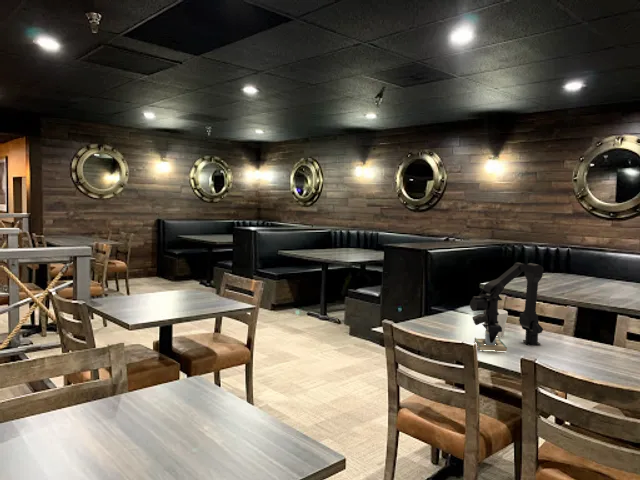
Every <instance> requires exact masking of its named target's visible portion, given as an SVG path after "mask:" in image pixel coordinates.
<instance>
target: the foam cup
mask: <svg viewBox="0 0 640 480" xmlns="http://www.w3.org/2000/svg"><path fill="white" fill-rule="evenodd" d="M498 313H499V315H498V318H497V321H498V324H499V325H500V326H501V327H502V332H498V334H497V336H498V337H497V338H502V337H501V336H503V337H504V335H505V330H506V326H507V325H506V323H507V319H508V315H509V314H508V313H509V312H508V311H507V310H504V309H499V308H498Z"/></svg>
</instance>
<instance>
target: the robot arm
mask: <svg viewBox="0 0 640 480" xmlns="http://www.w3.org/2000/svg"><path fill="white" fill-rule="evenodd" d="M522 272H523V273H524V277H525V280H526V292H525V293H526V294H525V303H524V310H523V312H519V318H518V321H519V324H520V326H521V330H524V331H525V338H524V339H522V342H523V343H524V344H526V345H528V344H529V346H531V345H533V346H534V345H535V346H540V345H541V343H540V341H539V334H542V333H543V330H544V328H543V327H542V325H540V323H539V316H538V314H537V311H536V309H537V299H538V289H539V288H538V287H539V282H540V281H541V280H542V278H543V275H544V267H543V266H542V265H540V264H536V263H531V262H529V263H527V264H525V263H523V262H522V263H521V262H515V263H514V264H513V266H511V267H510V268H508V269H507V270H506V271H505V272H504V273H502V274H501V275H500V276H499V277H497V278H496V279H492V280H490V281H488V282H486V283H485V284H484V285H483V288H482V290H481V292H480V293H479V294H478V296H472V299H471V300H470V302H469V308H470V309H471V311H472V312H480V311H481V312H482V311H483V313H481V314H480V313H479V314H477V315H473V316H472V317H471V318H472V321H473V323H474V324H475V326H478V325H480V324H482V326H483V328H484V329H485V331H488V332H489V338H490V343H493V341H494V339H495V338H496V339H497V337H496V336H497V334H498V332H502V327H501V326H500V325H499V324H498V321H497V318H498V315H499V313H498V309H499V301H503V298H502V297H500V295H501V294H502V293H503V292H504V289H505V286H507V285H508V284H509V283H510V282H512V281H513V280H514V279H515V278H516V277H518V276H519V275H520V274H521V273H522Z"/></svg>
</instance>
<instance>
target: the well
mask: <svg viewBox="0 0 640 480" xmlns="http://www.w3.org/2000/svg"><path fill="white" fill-rule="evenodd" d="M475 342H476V343H477V346H478V347H477V346H476V347H477V349H478V348H479V349H480V350H495V351H508V347H507V346H506V344H505V343H504V342H503V341H502V340H501V338H496V345H484V344H486V343H485V338H478V337H474V343H475ZM479 349H478V350H479Z"/></svg>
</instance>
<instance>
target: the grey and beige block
mask: <svg viewBox="0 0 640 480" xmlns="http://www.w3.org/2000/svg"><path fill="white" fill-rule="evenodd" d="M484 332H485V333H484V334H485V335H484V339H485V343H486V345H495V344H496V339H497V337H496V338H495V339H494V341H493V343H490V338H489V332H488V331H486V330H485V331H484Z"/></svg>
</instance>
